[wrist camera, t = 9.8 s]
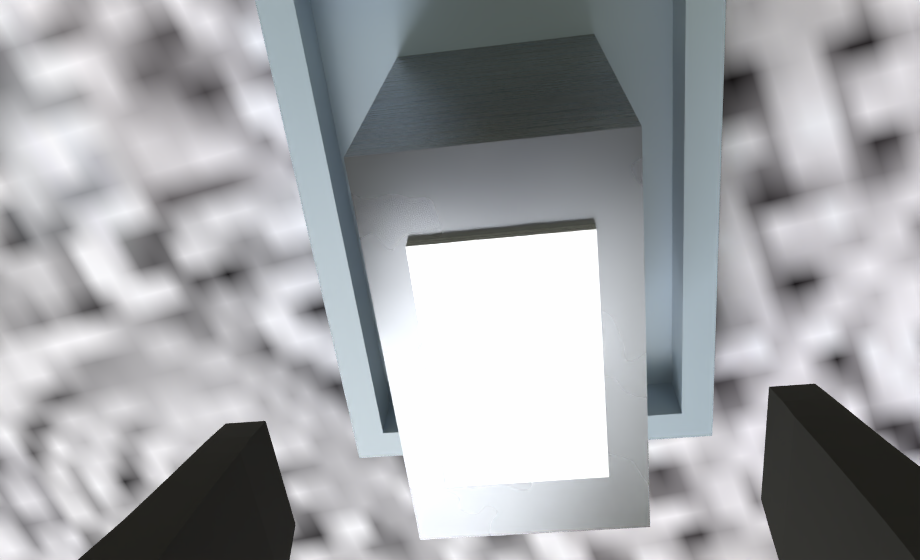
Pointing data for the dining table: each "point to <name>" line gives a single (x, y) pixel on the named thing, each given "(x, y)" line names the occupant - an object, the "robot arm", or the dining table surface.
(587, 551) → the dining table surface
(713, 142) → the pin tray
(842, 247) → the dining table surface
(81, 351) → the dining table surface
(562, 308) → the block
